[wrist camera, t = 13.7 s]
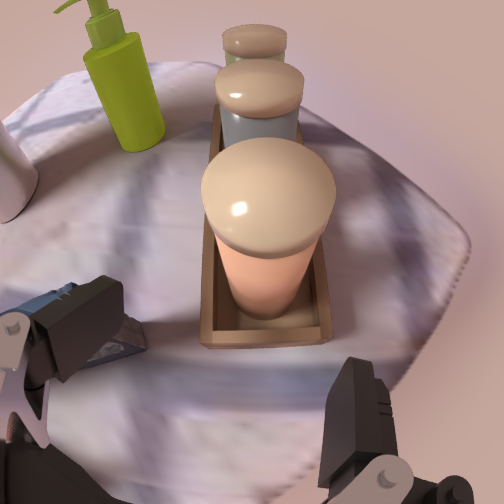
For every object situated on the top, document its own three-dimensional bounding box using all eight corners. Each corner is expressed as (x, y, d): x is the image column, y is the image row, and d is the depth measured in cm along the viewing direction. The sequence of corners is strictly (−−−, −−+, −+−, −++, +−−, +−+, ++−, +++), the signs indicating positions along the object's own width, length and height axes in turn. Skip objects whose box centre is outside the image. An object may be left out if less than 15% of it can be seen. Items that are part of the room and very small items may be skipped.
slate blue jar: (230, 227, 23) (211, 101, 12) (231, 181, 25) (217, 60, 14) (290, 225, 23) (311, 99, 12) (285, 179, 25) (297, 59, 14)
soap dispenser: (114, 132, 31) (61, 1, 13) (163, 115, 32) (127, -25, 14) (113, 161, 29) (45, 13, 11) (168, 142, 30) (123, -22, 12)
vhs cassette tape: (7, 387, 18) (-65, 372, 9) (3, 360, 19) (-66, 338, 10) (151, 356, 20) (80, 333, 11) (142, 321, 21) (74, 277, 12)
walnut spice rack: (209, 348, 20) (199, 343, 17) (218, 128, 30) (214, 104, 27) (321, 344, 20) (332, 337, 17) (291, 126, 30) (293, 102, 27)
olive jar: (232, 158, 26) (220, 45, 15) (232, 127, 28) (223, 25, 17) (282, 157, 26) (291, 43, 15) (277, 126, 28) (282, 24, 17)
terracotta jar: (230, 322, 20) (195, 245, 9) (230, 260, 22) (206, 140, 11) (299, 320, 20) (347, 240, 9) (294, 258, 22) (323, 137, 11)
